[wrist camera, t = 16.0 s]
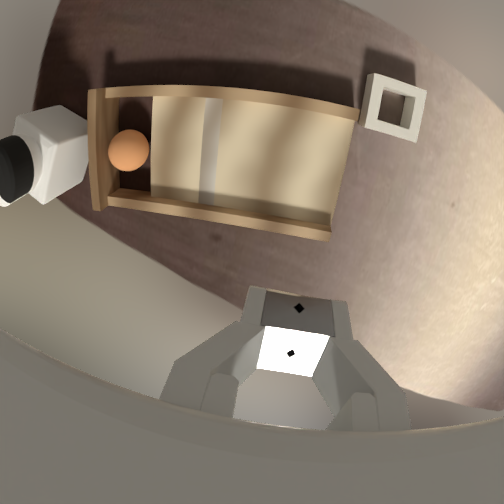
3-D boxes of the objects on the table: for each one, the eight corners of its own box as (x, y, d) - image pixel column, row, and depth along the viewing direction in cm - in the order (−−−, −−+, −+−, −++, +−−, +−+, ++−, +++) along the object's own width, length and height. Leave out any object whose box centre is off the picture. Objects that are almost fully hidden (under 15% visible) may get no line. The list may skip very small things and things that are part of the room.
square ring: (415, 90, 20) (426, 90, 18) (406, 138, 22) (416, 143, 20) (367, 74, 20) (374, 72, 18) (358, 124, 22) (364, 127, 20)
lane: (354, 108, 22) (364, 110, 18) (326, 229, 28) (330, 250, 25) (112, 87, 23) (88, 89, 20) (113, 195, 29) (92, 210, 26)
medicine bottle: (60, 103, 24) (-22, 127, 14) (101, 128, 26) (17, 160, 15) (45, 155, 28) (-27, 192, 18) (83, 182, 29) (10, 229, 19)
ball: (139, 134, 22) (100, 133, 22) (138, 178, 24) (101, 175, 24) (156, 127, 25) (120, 126, 25) (154, 166, 27) (120, 163, 27)
